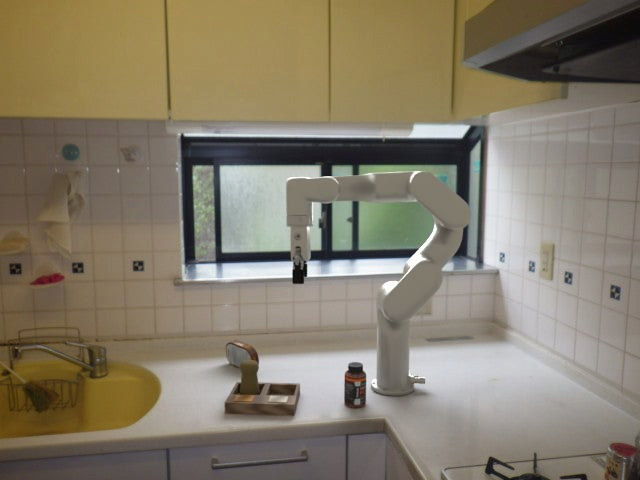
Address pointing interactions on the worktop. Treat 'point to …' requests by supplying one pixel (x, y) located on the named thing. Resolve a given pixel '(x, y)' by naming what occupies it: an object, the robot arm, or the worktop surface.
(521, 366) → the worktop surface
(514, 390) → the worktop surface
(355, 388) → the supplement bottle
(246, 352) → the tin
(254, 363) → the olive piece
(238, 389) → the socket block
